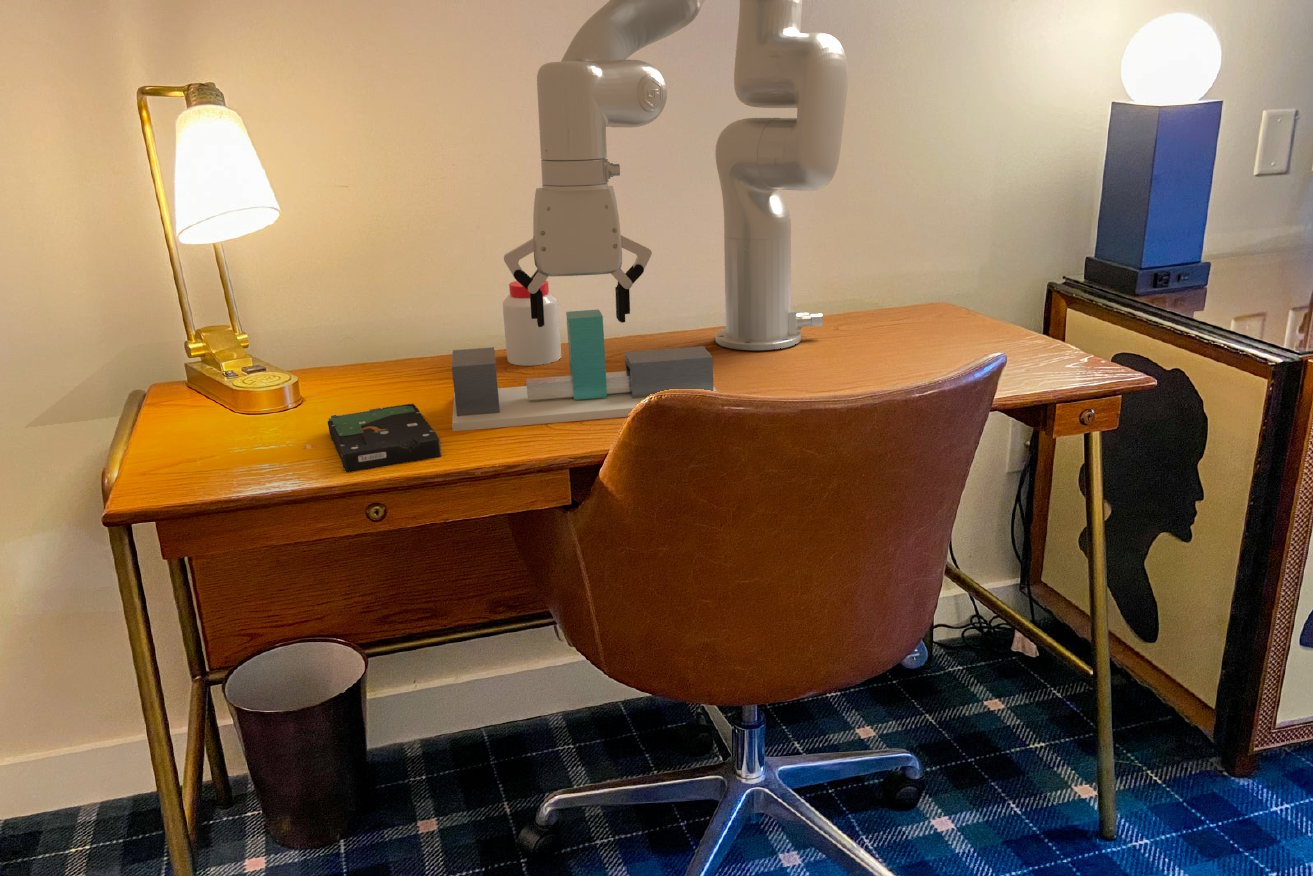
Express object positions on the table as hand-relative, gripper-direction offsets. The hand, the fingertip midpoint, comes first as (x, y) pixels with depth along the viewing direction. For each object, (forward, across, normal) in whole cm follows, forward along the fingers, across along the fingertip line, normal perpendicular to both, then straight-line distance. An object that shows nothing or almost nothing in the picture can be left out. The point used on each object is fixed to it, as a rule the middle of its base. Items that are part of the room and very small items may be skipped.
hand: (581, 322), depth 127 cm
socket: (+9, +13, -1) cm, 16 cm away
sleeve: (+10, -11, -1) cm, 15 cm away
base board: (+10, 0, -1) cm, 10 cm away
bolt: (+9, -4, -1) cm, 10 cm away
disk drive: (+12, +24, +8) cm, 28 cm away
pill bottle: (+10, +5, -25) cm, 27 cm away
